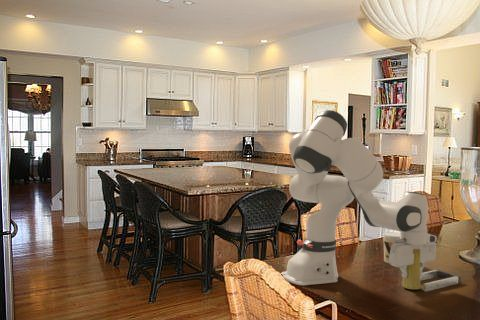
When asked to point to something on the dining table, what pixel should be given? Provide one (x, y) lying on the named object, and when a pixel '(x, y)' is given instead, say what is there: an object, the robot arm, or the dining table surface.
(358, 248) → the dining table surface
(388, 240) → the coffee cup
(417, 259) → the vase
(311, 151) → the robot arm
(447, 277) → the rail board
